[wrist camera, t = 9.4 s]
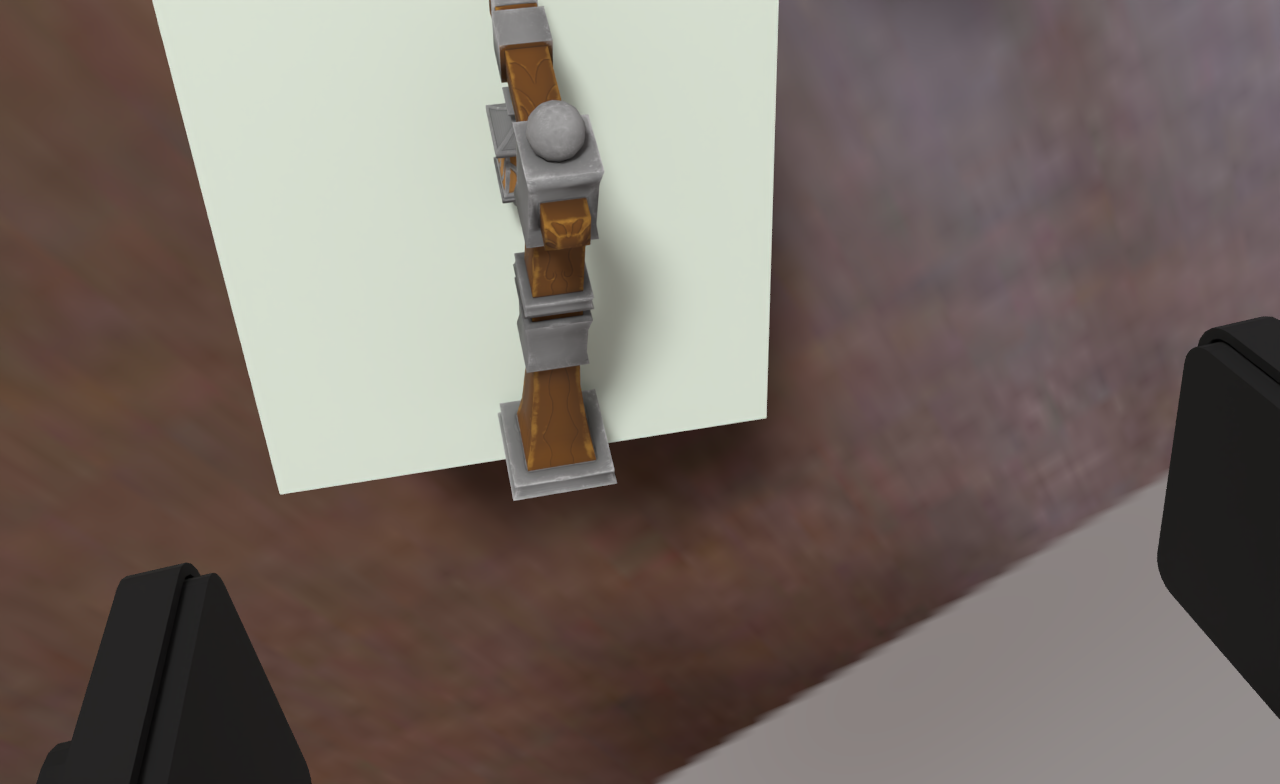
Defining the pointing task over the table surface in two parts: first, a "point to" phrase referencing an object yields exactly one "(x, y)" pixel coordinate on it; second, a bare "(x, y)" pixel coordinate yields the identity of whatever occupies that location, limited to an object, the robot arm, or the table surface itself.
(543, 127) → the wooden post with brackets
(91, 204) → the table surface
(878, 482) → the table surface
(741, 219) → the top block
